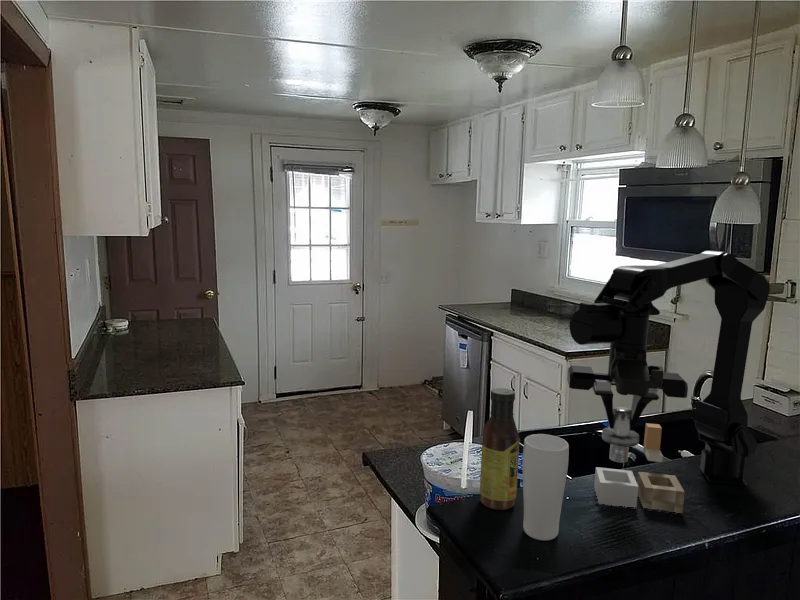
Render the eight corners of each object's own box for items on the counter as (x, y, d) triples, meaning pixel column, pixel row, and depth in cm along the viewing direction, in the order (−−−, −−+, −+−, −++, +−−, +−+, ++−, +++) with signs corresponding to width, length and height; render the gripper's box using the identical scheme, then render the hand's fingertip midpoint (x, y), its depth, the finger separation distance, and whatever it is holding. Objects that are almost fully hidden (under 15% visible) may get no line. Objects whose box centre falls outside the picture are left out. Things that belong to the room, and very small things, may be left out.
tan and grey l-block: (656, 452, 109) (659, 424, 108) (662, 462, 105) (665, 433, 104) (643, 450, 110) (645, 423, 109) (648, 460, 105) (650, 432, 104)
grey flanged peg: (633, 454, 104) (637, 405, 102) (639, 468, 98) (644, 417, 97) (598, 450, 105) (602, 402, 104) (602, 464, 99) (606, 413, 98)
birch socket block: (673, 496, 104) (675, 475, 103) (682, 514, 98) (684, 491, 97) (636, 492, 105) (638, 471, 104) (643, 509, 99) (645, 487, 98)
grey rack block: (629, 491, 105) (631, 470, 104) (636, 508, 99) (638, 486, 98) (594, 487, 106) (595, 467, 106) (598, 504, 100) (600, 482, 100)
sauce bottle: (515, 514, 96) (522, 399, 93) (477, 509, 97) (483, 395, 94) (516, 495, 102) (522, 387, 99) (480, 491, 104) (485, 384, 101)
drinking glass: (513, 521, 94) (518, 433, 92) (554, 521, 94) (560, 433, 92) (525, 545, 87) (531, 451, 85) (569, 544, 88) (576, 450, 85)
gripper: (575, 347, 92) (568, 440, 95) (702, 356, 89) (691, 453, 91) (570, 333, 103) (564, 417, 105) (682, 341, 99) (674, 427, 102)
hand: (620, 428), depth 101 cm, fingers closed on grey flanged peg, 3 cm apart
